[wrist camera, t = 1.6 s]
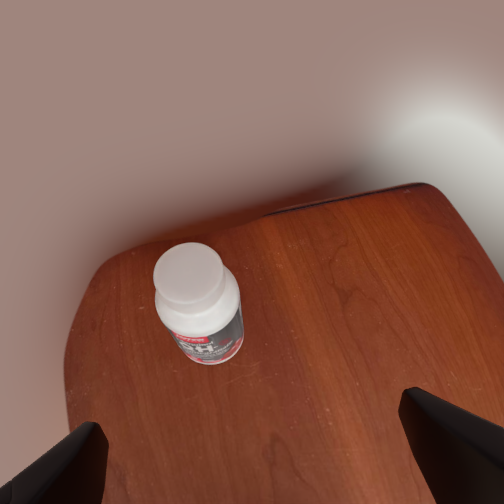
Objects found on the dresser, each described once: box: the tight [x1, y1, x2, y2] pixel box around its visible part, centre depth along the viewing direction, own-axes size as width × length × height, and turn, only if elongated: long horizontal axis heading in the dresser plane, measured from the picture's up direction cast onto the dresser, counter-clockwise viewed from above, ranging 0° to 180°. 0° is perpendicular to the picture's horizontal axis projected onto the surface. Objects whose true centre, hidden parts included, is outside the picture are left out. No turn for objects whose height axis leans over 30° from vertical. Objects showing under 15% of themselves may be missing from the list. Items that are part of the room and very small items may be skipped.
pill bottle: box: [153, 243, 244, 365], centre depth 21 cm, size 5×5×10 cm
